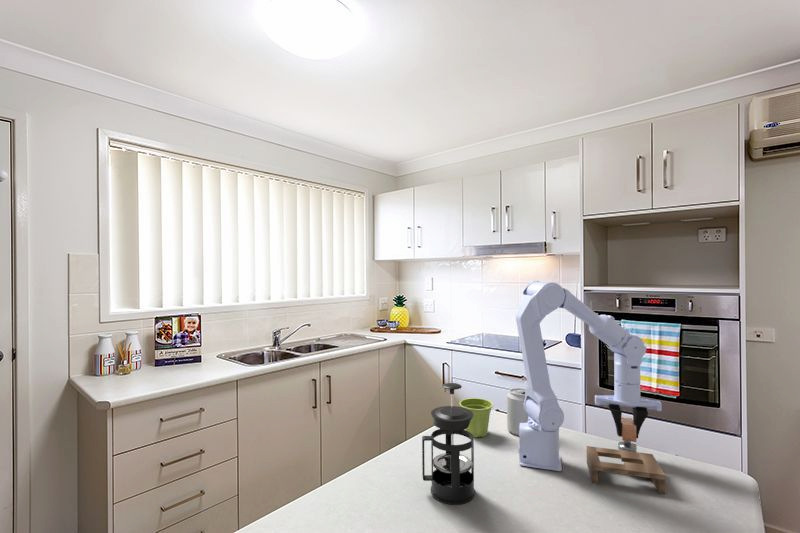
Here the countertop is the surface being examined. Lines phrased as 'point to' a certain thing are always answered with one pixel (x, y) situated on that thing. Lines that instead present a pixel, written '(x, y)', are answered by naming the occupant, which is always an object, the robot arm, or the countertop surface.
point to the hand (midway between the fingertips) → (627, 435)
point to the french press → (451, 454)
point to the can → (516, 410)
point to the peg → (628, 435)
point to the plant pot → (478, 415)
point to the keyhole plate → (625, 465)
